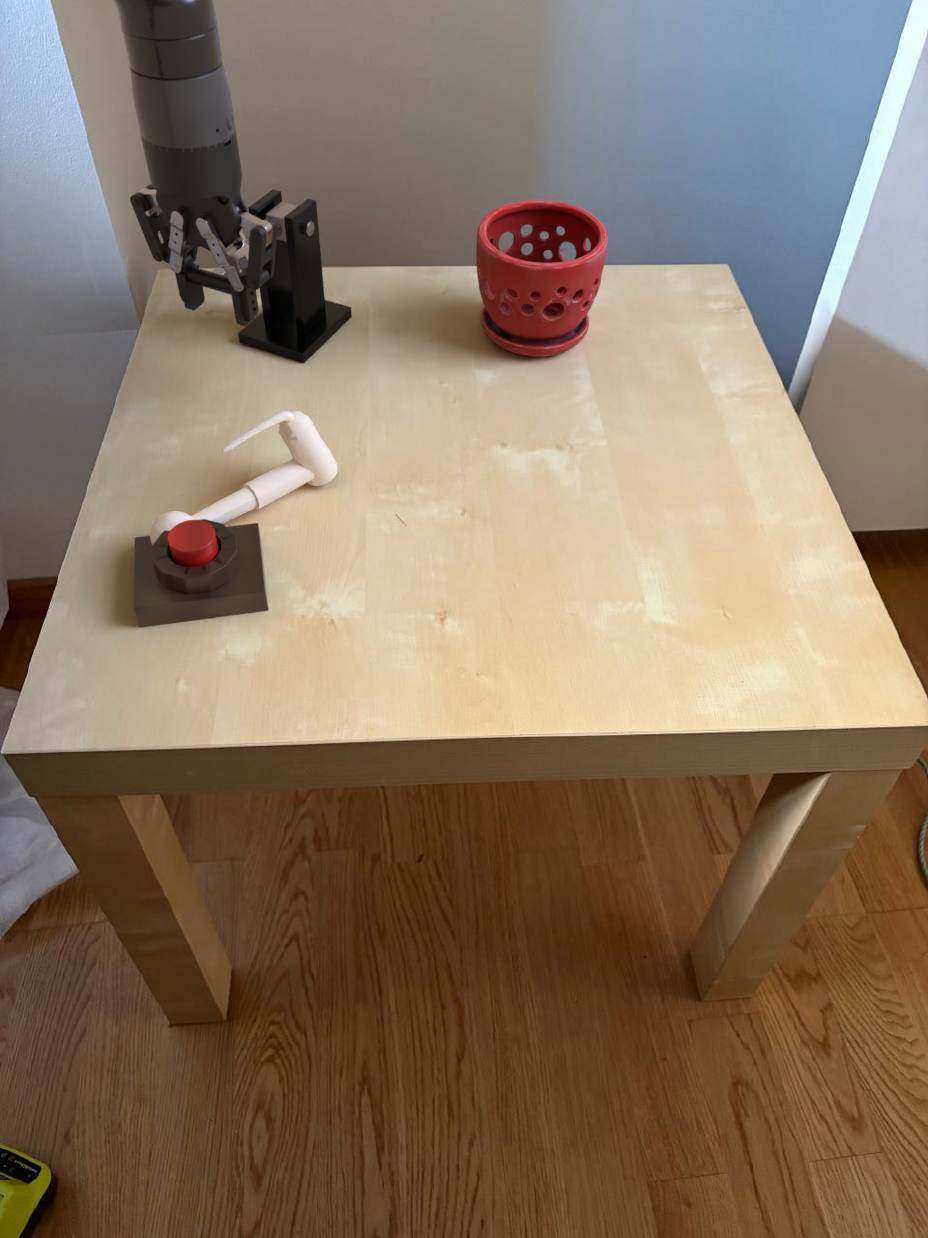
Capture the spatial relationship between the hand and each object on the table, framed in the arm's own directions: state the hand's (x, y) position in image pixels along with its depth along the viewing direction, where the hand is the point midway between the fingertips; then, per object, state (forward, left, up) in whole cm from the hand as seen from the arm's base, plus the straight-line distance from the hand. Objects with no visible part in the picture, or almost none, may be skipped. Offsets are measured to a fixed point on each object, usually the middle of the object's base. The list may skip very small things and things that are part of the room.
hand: (221, 312), depth 90 cm
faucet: (0, -19, -8) cm, 21 cm away
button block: (-4, -27, -8) cm, 28 cm away
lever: (+4, +5, +2) cm, 7 cm away
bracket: (+7, +9, -8) cm, 14 cm away
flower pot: (+32, +4, -9) cm, 34 cm away
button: (-4, -27, -5) cm, 27 cm away
